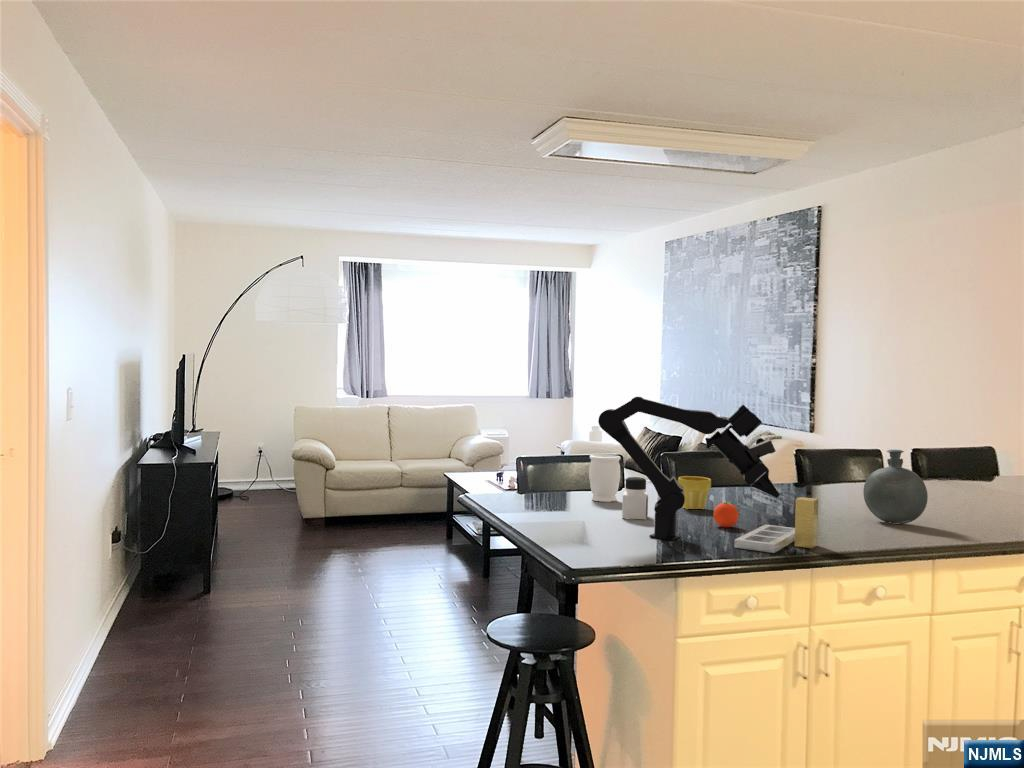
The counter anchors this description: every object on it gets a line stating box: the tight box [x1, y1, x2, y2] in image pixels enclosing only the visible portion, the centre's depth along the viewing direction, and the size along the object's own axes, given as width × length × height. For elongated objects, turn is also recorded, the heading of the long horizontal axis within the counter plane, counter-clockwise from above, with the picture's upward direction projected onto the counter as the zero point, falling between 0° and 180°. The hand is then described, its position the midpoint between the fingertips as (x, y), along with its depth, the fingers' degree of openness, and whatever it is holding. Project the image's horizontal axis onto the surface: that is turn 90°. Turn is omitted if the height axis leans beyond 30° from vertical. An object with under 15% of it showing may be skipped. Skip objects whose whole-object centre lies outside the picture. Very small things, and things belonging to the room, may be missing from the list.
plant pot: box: [677, 475, 712, 510], centre depth 272 cm, size 10×10×10 cm
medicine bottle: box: [621, 476, 649, 521], centre depth 254 cm, size 7×7×12 cm
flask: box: [863, 449, 929, 525], centre depth 252 cm, size 12×17×22 cm
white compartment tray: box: [733, 524, 795, 554], centre depth 222 cm, size 26×10×2 cm, turn 147°
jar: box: [588, 453, 621, 503], centre depth 285 cm, size 11×10×15 cm
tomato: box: [713, 501, 739, 528], centre depth 242 cm, size 8×7×7 cm
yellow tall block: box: [794, 496, 819, 549], centre depth 218 cm, size 4×4×12 cm
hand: (776, 493), depth 219 cm, fingers open, 9 cm apart
